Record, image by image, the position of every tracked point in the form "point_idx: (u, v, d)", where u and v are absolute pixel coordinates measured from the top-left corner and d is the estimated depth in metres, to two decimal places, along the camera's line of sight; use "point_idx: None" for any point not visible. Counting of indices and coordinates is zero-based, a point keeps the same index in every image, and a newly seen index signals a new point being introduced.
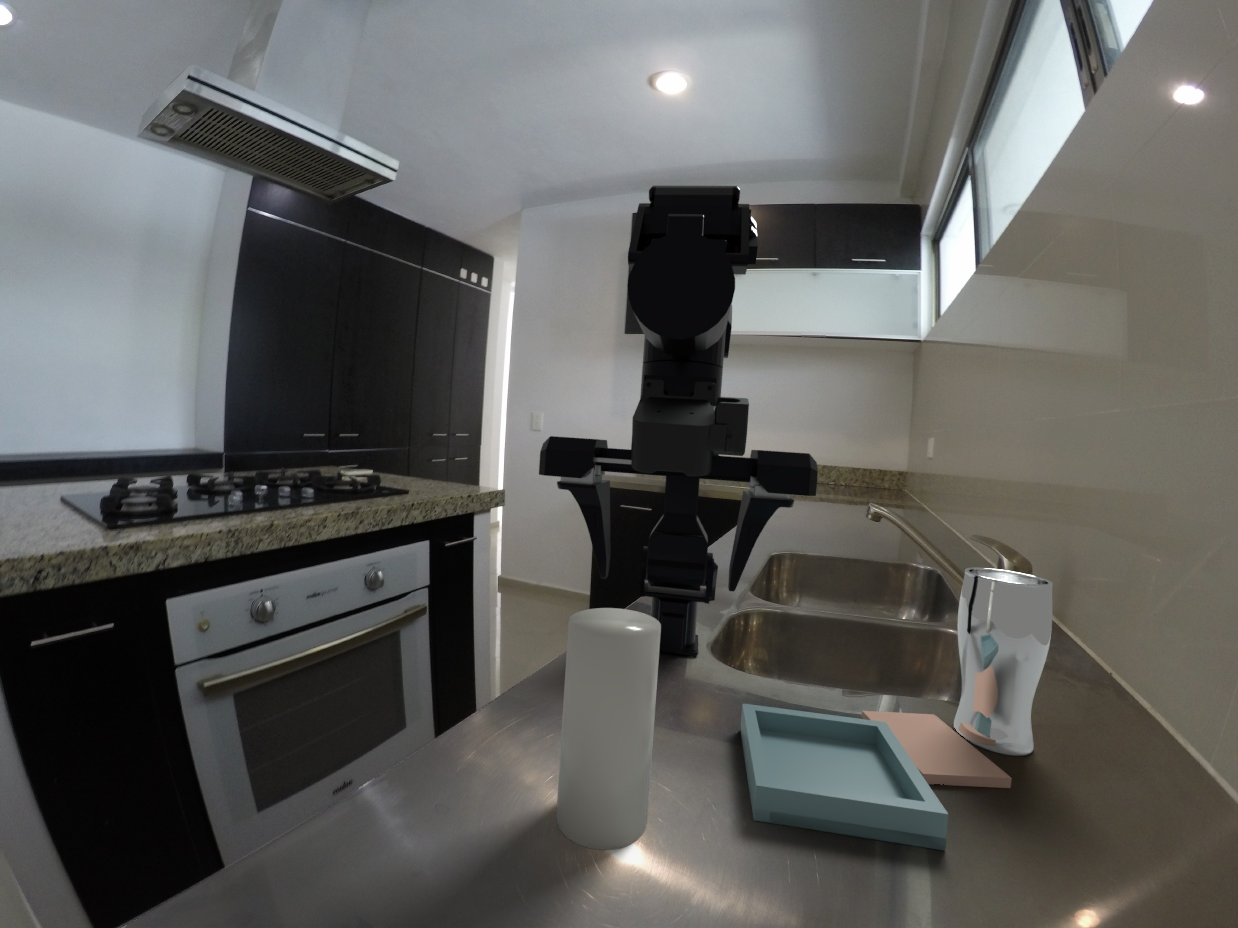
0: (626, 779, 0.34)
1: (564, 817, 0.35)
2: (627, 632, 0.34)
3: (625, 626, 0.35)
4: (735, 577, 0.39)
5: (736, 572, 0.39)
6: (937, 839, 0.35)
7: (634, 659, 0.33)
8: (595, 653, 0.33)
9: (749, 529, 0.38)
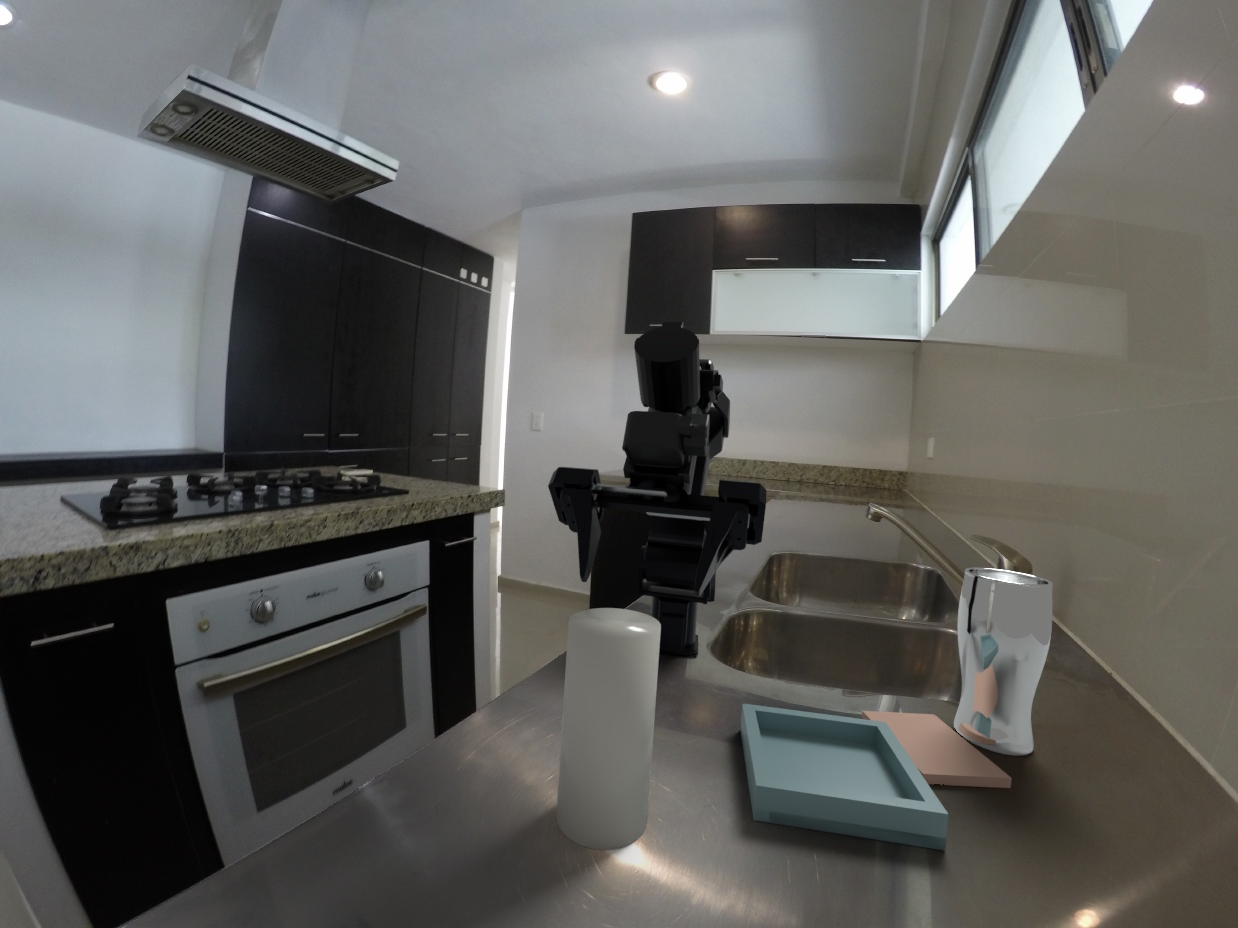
0: (626, 779, 0.34)
1: (564, 817, 0.35)
2: (627, 632, 0.34)
3: (625, 626, 0.35)
4: (700, 576, 0.43)
5: (701, 572, 0.43)
6: (937, 839, 0.35)
7: (634, 659, 0.33)
8: (595, 653, 0.33)
9: (713, 535, 0.45)
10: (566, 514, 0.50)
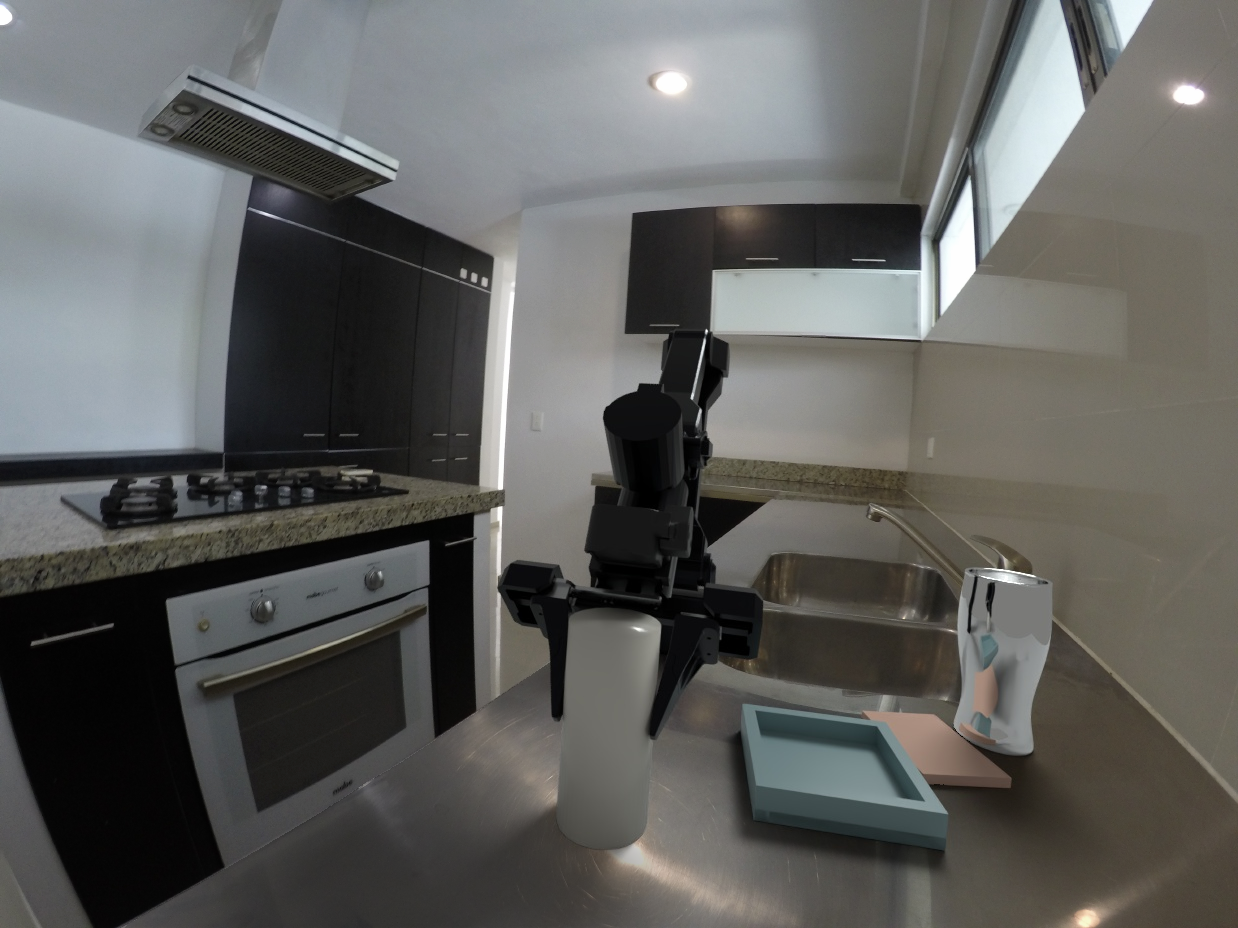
0: (626, 779, 0.34)
1: (564, 817, 0.35)
2: (628, 632, 0.34)
3: (625, 625, 0.35)
4: (657, 715, 0.34)
5: (658, 709, 0.35)
6: (937, 839, 0.35)
7: (634, 659, 0.33)
8: (595, 653, 0.33)
9: (675, 658, 0.36)
10: (538, 622, 0.41)
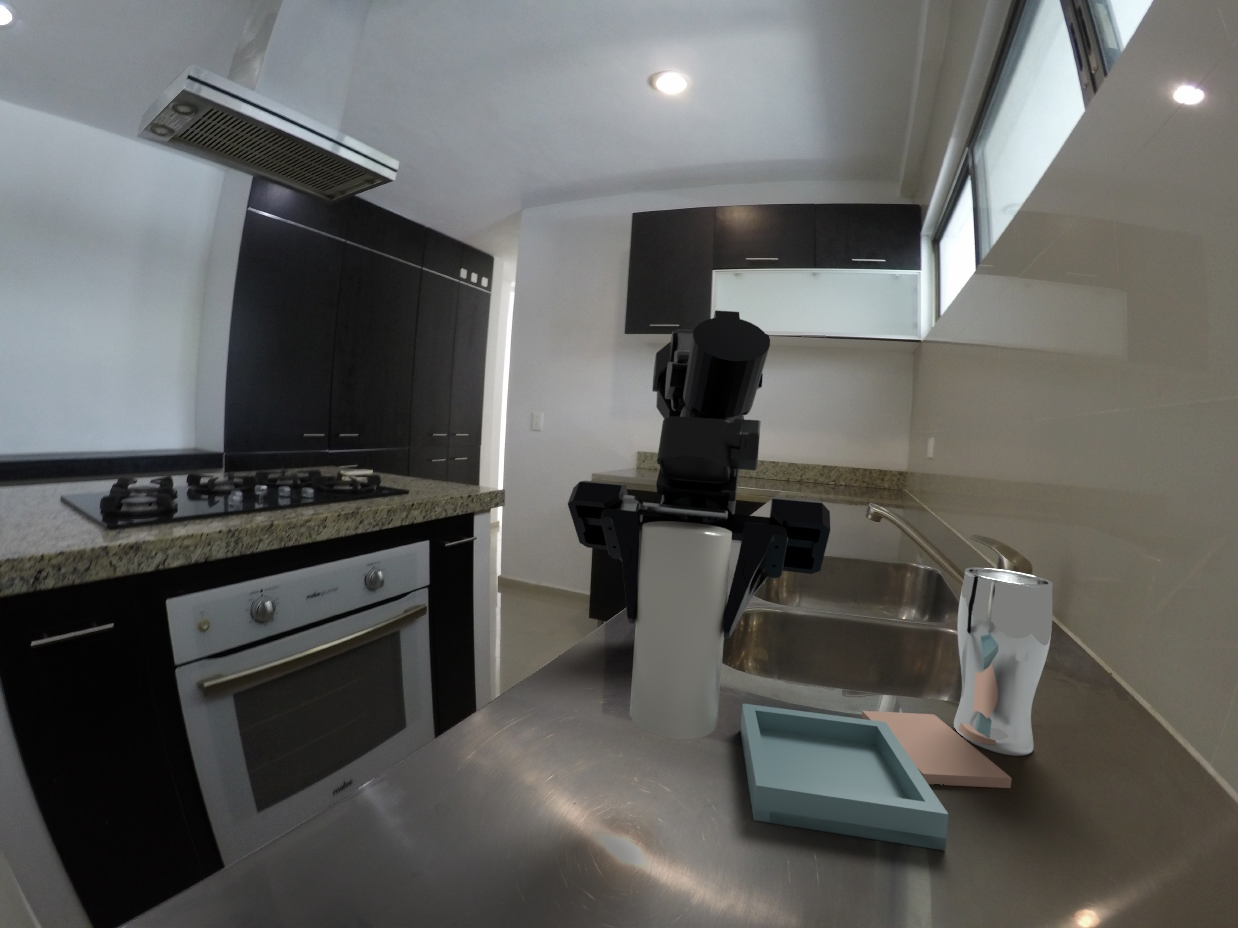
0: (701, 673, 0.35)
1: (640, 711, 0.36)
2: (702, 534, 0.36)
3: (698, 531, 0.37)
4: (730, 614, 0.36)
5: (731, 609, 0.36)
6: (937, 839, 0.35)
7: (710, 558, 0.35)
8: (672, 551, 0.35)
9: (745, 563, 0.37)
10: (606, 539, 0.42)
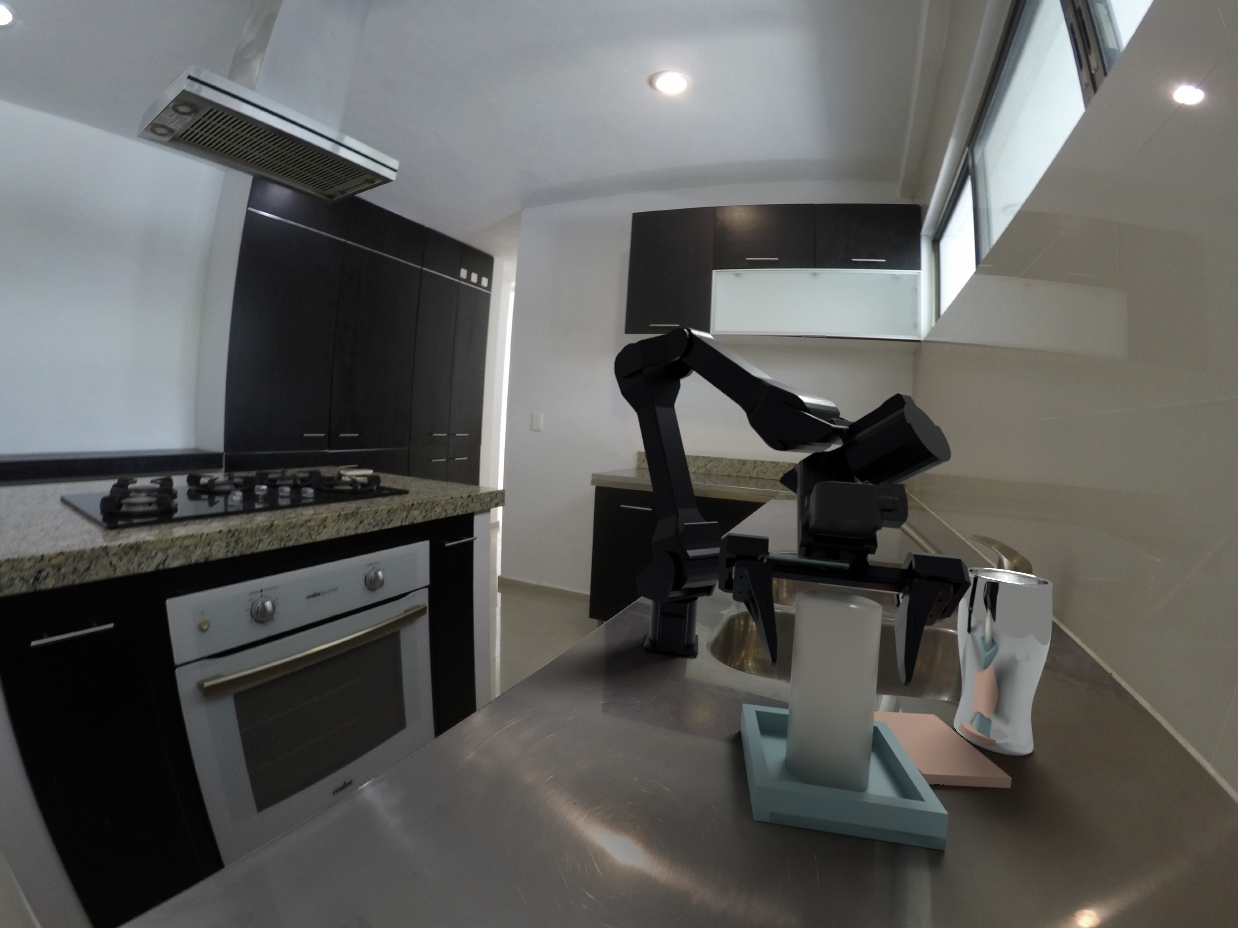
0: (862, 734, 0.39)
1: (804, 768, 0.40)
2: (860, 609, 0.40)
3: (851, 604, 0.41)
4: (910, 665, 0.40)
5: (909, 660, 0.40)
6: (937, 839, 0.35)
7: (870, 631, 0.39)
8: (837, 627, 0.39)
9: (915, 617, 0.41)
10: (734, 585, 0.47)
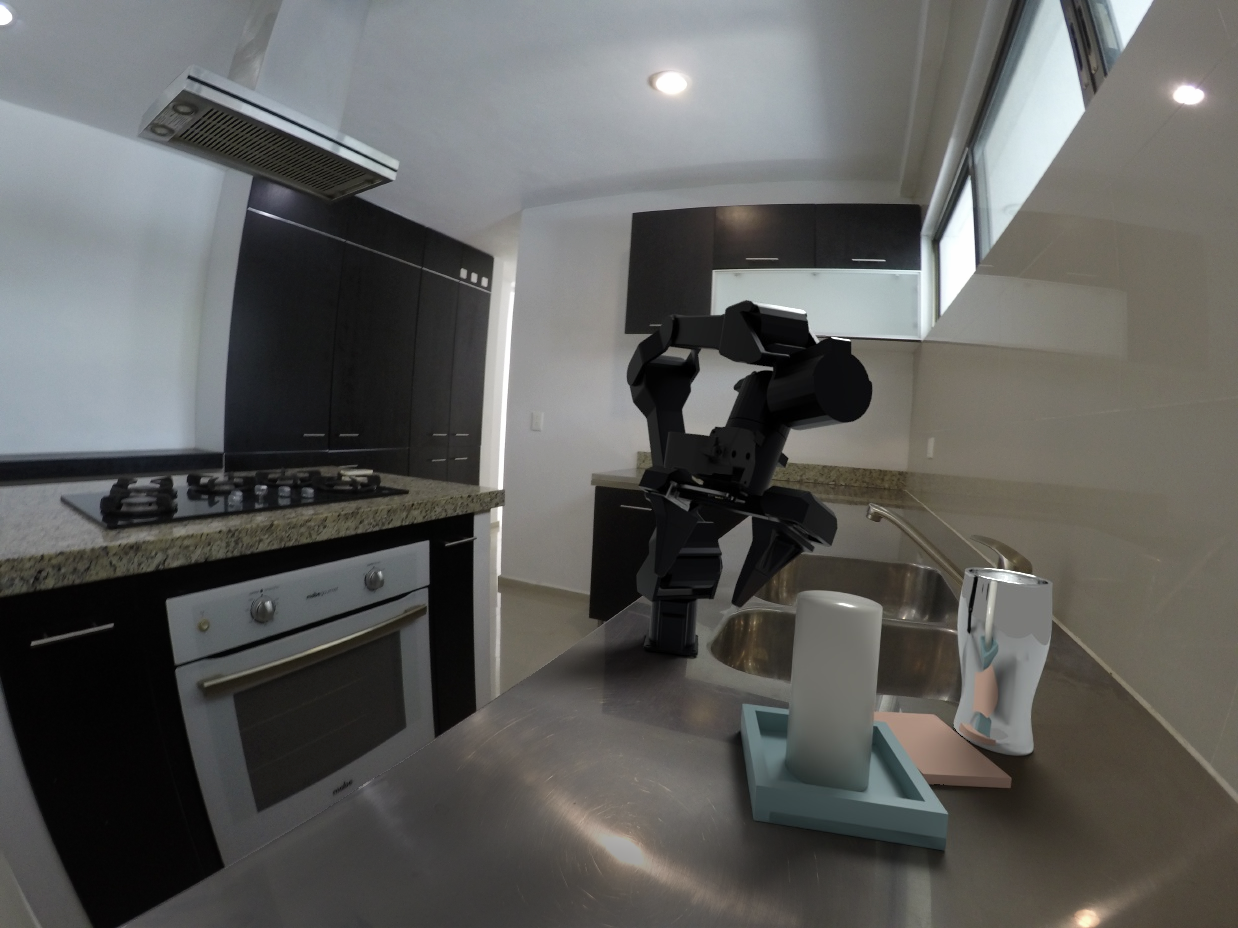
0: (863, 734, 0.39)
1: (804, 768, 0.40)
2: (861, 609, 0.40)
3: (851, 604, 0.41)
4: (737, 591, 0.45)
5: (738, 587, 0.45)
6: (937, 839, 0.35)
7: (870, 631, 0.39)
8: (838, 626, 0.39)
9: (754, 550, 0.45)
10: None
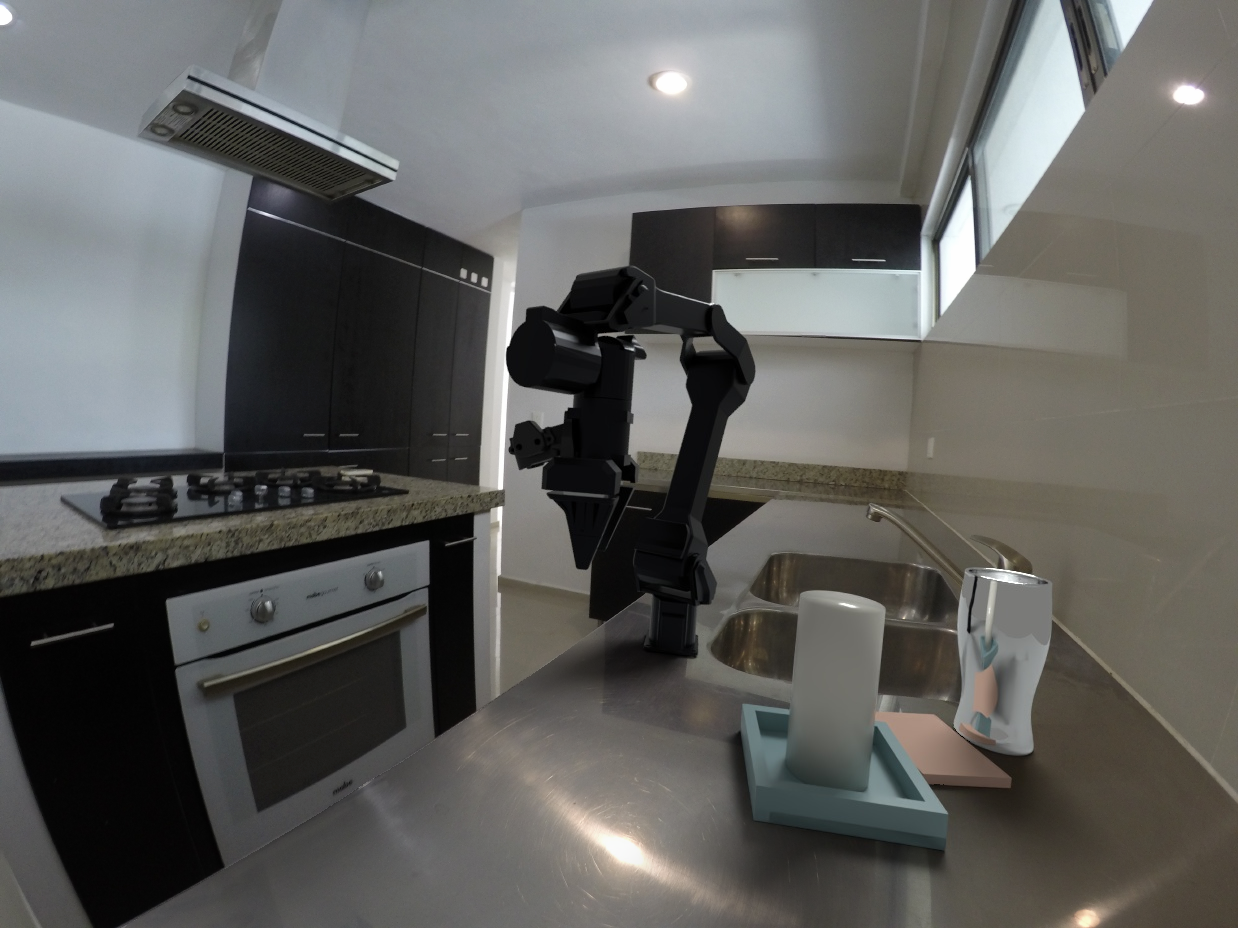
0: (864, 735, 0.39)
1: (805, 768, 0.40)
2: (864, 610, 0.40)
3: (854, 604, 0.41)
4: None
5: None
6: (937, 839, 0.35)
7: (873, 632, 0.39)
8: (841, 626, 0.39)
9: None
10: None
